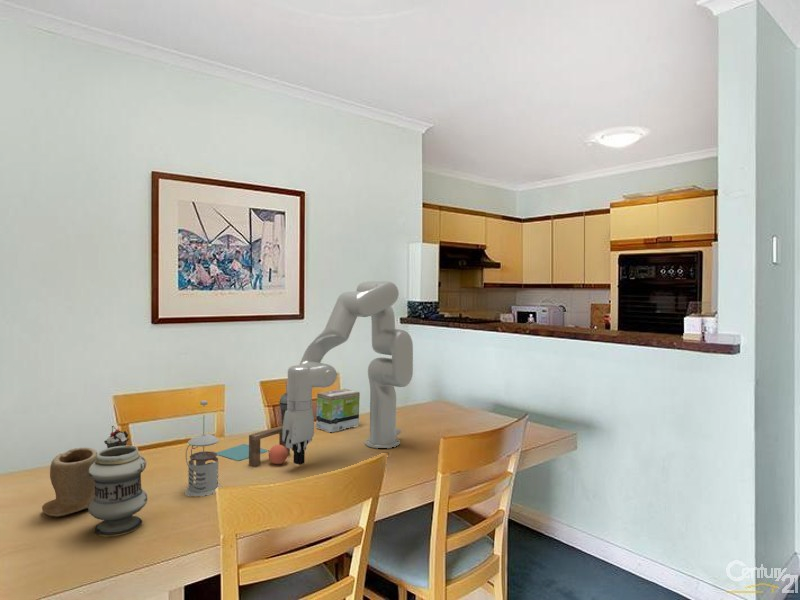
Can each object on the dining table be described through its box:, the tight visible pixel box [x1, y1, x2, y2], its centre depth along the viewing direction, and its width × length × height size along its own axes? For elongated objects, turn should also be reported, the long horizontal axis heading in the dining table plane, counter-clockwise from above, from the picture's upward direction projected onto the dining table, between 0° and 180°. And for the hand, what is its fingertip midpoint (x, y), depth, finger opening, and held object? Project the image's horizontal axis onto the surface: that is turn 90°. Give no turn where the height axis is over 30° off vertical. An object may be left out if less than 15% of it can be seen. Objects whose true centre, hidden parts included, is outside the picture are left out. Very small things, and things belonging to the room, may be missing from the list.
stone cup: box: [41, 447, 98, 517], centre depth 128 cm, size 15×12×15 cm
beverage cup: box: [279, 380, 288, 426], centre depth 201 cm, size 7×7×20 cm
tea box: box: [315, 388, 361, 433], centre depth 208 cm, size 15×10×15 cm
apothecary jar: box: [87, 445, 148, 538], centre depth 118 cm, size 12×12×18 cm
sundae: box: [104, 425, 130, 449], centre depth 153 cm, size 7×7×15 cm
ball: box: [268, 444, 289, 465], centre depth 163 cm, size 6×6×6 cm
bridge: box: [248, 425, 291, 468], centre depth 167 cm, size 3×15×10 cm, turn 147°
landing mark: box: [216, 443, 270, 462], centre depth 174 cm, size 13×13×1 cm
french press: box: [184, 399, 222, 497], centre depth 141 cm, size 10×12×25 cm
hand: (299, 463), depth 160 cm, fingers closed
